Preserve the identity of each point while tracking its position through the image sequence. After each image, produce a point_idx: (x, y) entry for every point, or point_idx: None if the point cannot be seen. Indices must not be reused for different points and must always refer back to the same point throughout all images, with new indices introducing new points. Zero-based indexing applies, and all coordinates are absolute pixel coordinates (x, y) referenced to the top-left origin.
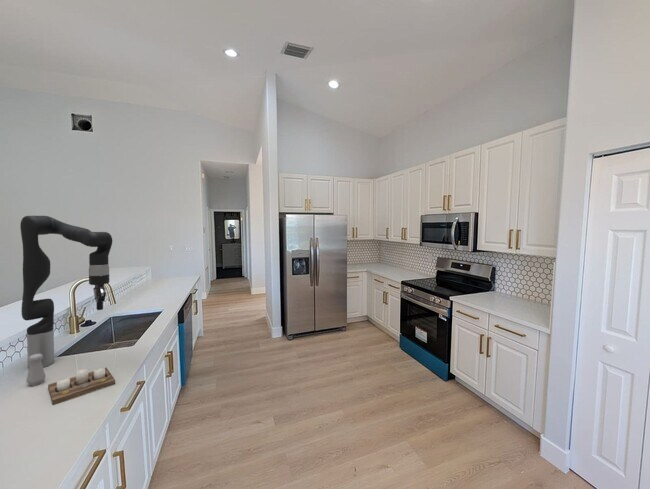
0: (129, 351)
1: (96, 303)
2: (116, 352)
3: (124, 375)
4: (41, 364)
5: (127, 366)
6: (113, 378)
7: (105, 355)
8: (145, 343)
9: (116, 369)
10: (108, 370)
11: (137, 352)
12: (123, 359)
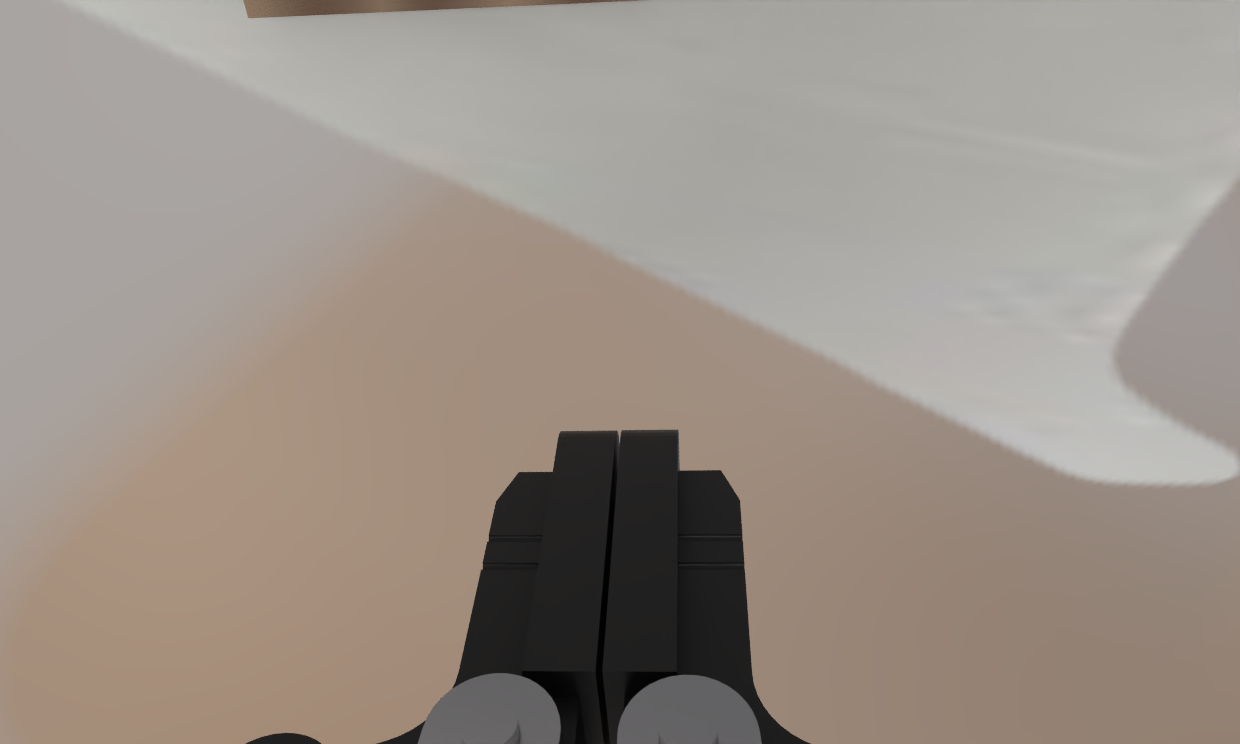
0: (1016, 270)
1: (668, 618)
2: (1124, 166)
3: (415, 109)
4: None
5: (618, 174)
6: (286, 10)
7: (1153, 55)
8: (1091, 423)
9: (622, 77)
10: (537, 4)
11: (911, 318)
12: (841, 181)
